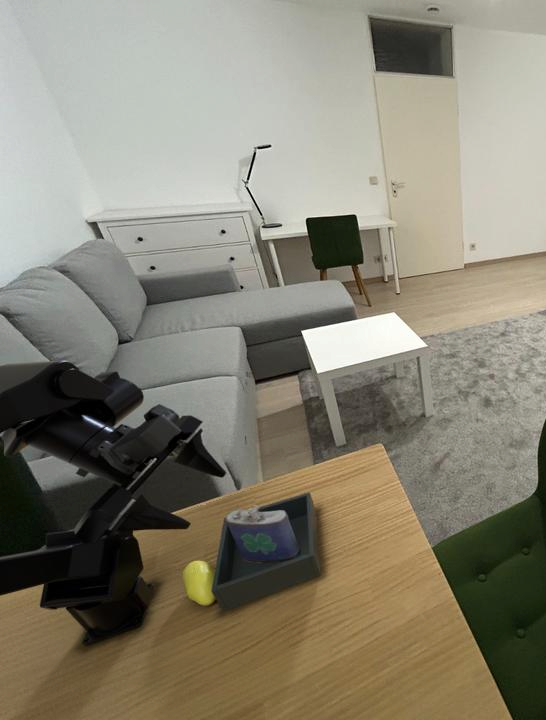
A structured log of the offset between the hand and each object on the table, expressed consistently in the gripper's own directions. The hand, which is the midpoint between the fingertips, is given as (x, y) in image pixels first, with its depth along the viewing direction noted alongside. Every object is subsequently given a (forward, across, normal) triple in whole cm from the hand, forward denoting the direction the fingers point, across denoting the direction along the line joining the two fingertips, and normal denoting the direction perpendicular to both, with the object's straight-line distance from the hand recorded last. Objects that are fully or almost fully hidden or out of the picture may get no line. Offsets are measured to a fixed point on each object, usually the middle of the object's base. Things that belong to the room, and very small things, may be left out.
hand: (208, 499), depth 56 cm
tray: (+14, 0, +5) cm, 15 cm away
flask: (+13, 0, +6) cm, 14 cm away
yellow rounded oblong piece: (+6, -7, +11) cm, 14 cm away
